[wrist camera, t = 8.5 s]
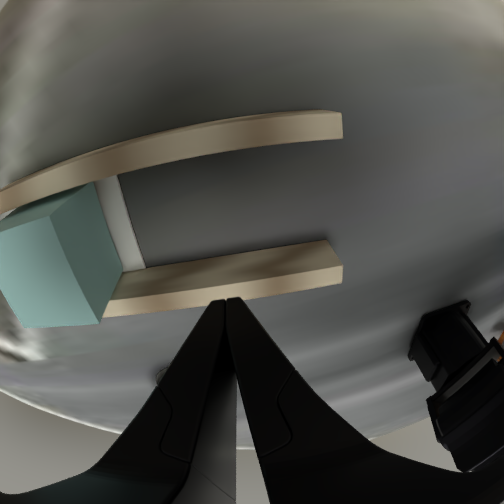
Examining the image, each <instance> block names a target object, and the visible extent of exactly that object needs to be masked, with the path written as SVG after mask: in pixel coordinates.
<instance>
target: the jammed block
mask: <svg viewBox="0 0 504 504" xmlns="http://www.w3.org/2000/svg"><path fill="white" fill-rule="evenodd" d="M122 271H123V267H122V265H121V262H120V260H119V257H118V254H117V252H116V249H115V246H114V244H113V241H112V238H111V235H110V233H109V230H108V227H107V224H106V221H105V218H104V215H103V212H102V209H101V206H100V203H99V200H98V196H97V193H96V190H95V186H94V183H93V182H89V183H86V184H83V185H80V186H76V187H73V188H70V189H67V190H64V191H61V192H58V193H55V194H52V195H49V196H46V197H43V198H41V199H38V200H35V201H32V202H30V203H27V204H24V205H22V206H19V207H18V208H16V209H15V210H14V211H12V212H11V213H10V214H9V215H7V216H6V217H5V218H4V219H2V220H1V221H0V289H1V291H2V293H3V295H4V296H5V298H6V300H7V302H8V303H9V305H10V307H11V308H12V310H13V312H14V313H15V315H16V316H17V318H18V319H19V321H20V323H21V324H22V326H23V327H24V328H40V327H59V326H75V325H89V324H100V321H101V319H102V316H103V314H104V312H105V309H106V307H107V305H108V302H109V300H110V298H111V295H112V293H113V291H114V289H115V287H116V284H117V282H118V280H119V278H120V276H121V274H122Z"/></svg>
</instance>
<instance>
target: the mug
mask: <svg viewBox="0 0 504 504" xmlns="http://www.w3.org/2000/svg"><path fill="white" fill-rule="evenodd" d="M498 341H499V343H500V344H501V345H502V346H503V347H504V331H503V333H502V334H501V336H500V338H499V340H498ZM501 358H502V357H501V356H500V357H499V358H498V359H497V361H498V362H499V361H500V360H501Z"/></svg>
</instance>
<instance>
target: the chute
mask: <svg viewBox="0 0 504 504" xmlns="http://www.w3.org/2000/svg"><path fill="white" fill-rule="evenodd" d="M329 139H343V128H342V113H339V112H334V111H328V110H322V109H316V110H300V111H287V112H276V113H267V114H258V115H250V116H242V117H235V118H229V119H222V120H216V121H211V122H205V123H200V124H194V125H189V126H184V127H180V128H175V129H170V130H166V131H162V132H158V133H153V134H149V135H145V136H142V137H138V138H134V139H130V140H127V141H123V142H120V143H116V144H113V145H110V146H106V147H103V148H100V149H97V150H94V151H91V152H88V153H85V154H82V155H79V156H76V157H73V158H71V159H68V160H65V161H63V162H60V163H57V164H55V165H52V166H50V167H47V168H45V169H42V170H40V171H37V172H35V173H33V174H30V175H28V176H26V177H24V178H21V179H19V180H17V181H15V182H13V183H10V184H8V185H7V186H5V187H3V188H2V189H0V214H2V213H4V212H7V211H9V210H12V209H14V208H17V207H19V206H22V205H24V204H27V203H30V202H32V201H35V200H38V199H41V198H43V197H46V196H49V195H52V194H55V193H58V192H61V191H64V190H67V189H70V188H73V187H76V186H80V185H83V184H86V183H89V182H93V183H94V186H95V190H96V193H97V196H98V200H99V203H100V206H101V209H102V212H103V215H104V218H105V221H106V224H107V227H108V230H109V233H110V235H111V238H112V241H113V244H114V246H115V249H116V252H117V254H118V257H119V260H120V262H121V265H122V267H123V271H122V274H121V276H120V278H119V280H118V282H117V284H116V287H115V289H114V291H113V293H112V295H111V298H110V300H109V302H108V305H107V307H106V309H105V312H104V314H103V316H102V318H103V317H114V316H124V315H133V314H143V313H151V312H160V311H168V310H176V309H184V308H192V307H199V306H207V305H209V303H210V302H211V301H213V300H218V299H225V300H226V299H227V298H232V297H241V298H242V300H247V299H254V298H260V297H266V296H272V295H278V294H284V293H290V292H296V291H301V290H307V289H312V288H318V287H323V286H328V285H334V284H339V283H342V274H343V265H342V263H341V261H340V260H339V258H338V257H337V255H336V254H335V252H334V251H333V249H332V247H331V246H330V244H329V243H328V241H327V240H321V241H315V242H308V243H302V244H296V245H289V246H283V247H277V248H270V249H264V250H258V251H251V252H245V253H239V254H232V255H226V256H220V257H213V258H207V259H201V260H194V261H188V262H182V263H175V264H169V265H163V266H157V267H150V268H146V265H145V262H144V259H143V256H142V253H141V251H140V248H139V245H138V242H137V239H136V236H135V233H134V230H133V227H132V223H131V220H130V217H129V214H128V210H127V207H126V204H125V200H124V197H123V193H122V190H121V186H120V183H119V179H118V174H121V173H125V172H129V171H133V170H137V169H141V168H145V167H150V166H154V165H158V164H163V163H167V162H172V161H177V160H182V159H187V158H192V157H197V156H202V155H208V154H213V153H219V152H225V151H232V150H238V149H245V148H252V147H259V146H267V145H275V144H284V143H294V142H304V141H316V140H329Z"/></svg>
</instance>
